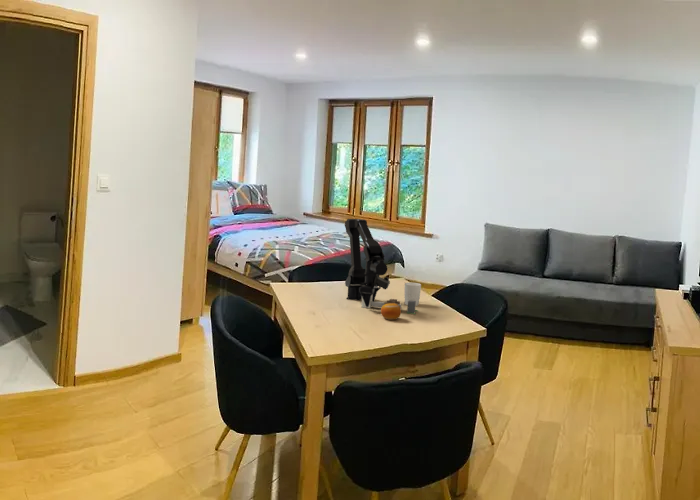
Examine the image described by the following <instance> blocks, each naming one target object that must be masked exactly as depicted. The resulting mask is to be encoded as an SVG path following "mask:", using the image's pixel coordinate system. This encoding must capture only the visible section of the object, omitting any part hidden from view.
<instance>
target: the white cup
mask: <svg viewBox="0 0 700 500" xmlns="http://www.w3.org/2000/svg"><path fill="white" fill-rule="evenodd" d="M421 289H422V284H421V283H420V282H410V281H409V282H404V297H403V298H404V305H406V306H408V301H409V300H411V301H416V304H415V307H416V306H419V304H420V297H421V292H422V290H421Z"/></svg>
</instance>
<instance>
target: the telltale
mask: <svg viewBox="0 0 700 500" xmlns="http://www.w3.org/2000/svg"><path fill="white" fill-rule="evenodd" d="M415 304H416V301H411V300H409V301H408V305H407V311H406V313H407V312H410V313H416V311H415V310H416V306H415Z"/></svg>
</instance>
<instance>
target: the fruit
mask: <svg viewBox="0 0 700 500" xmlns="http://www.w3.org/2000/svg"><path fill="white" fill-rule="evenodd" d="M401 313H402V308H401V309H400V307H399V305H397V304H395V303H388V304H385V305H383V306H382V307H380V315H381V316H382V318H384V319H385V320H389V321H394V320H397V319H399V318H400V317H401Z"/></svg>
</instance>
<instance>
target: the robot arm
mask: <svg viewBox="0 0 700 500" xmlns="http://www.w3.org/2000/svg"><path fill="white" fill-rule="evenodd" d="M344 228H345V232H346V234H347V236H348V237H349V245H350V246H349V247H350V248H349V249H350V263H351V266H350V268H349V271H348V275H347V277H346V280H345V281H344V282H345V283H344V284H345V287H347V297H346V300H351V301H361V300H362V298H363V300H364V302H365V305H366V307H369V303H370V298H371V295H372V294H373V298H372V301H375V300H376V296H377V293H378V291H379V290H380V289H381V288H382V290H387V289H388V288H389V286H390V284H391V281H390V279H389V277H388V276H385V277H384V278H383V277H382V276H384V275H385V274H386V273H387V271H388V265H387V264H386V263H385V255H384V252H383V248H382V246H381V245H380V243H379V241H377V240H376V239H374V237H373V234H372V232H371V230H370V228H369V226H368V222H367V220H366V219H360V218H348V219H346V221H345V222H344ZM361 239H362V242H363V245H364V246H363V254H364V256H365V258H364V260H365V268H363V266H362V257H361V256H362V255H361V241H360V240H361Z"/></svg>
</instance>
